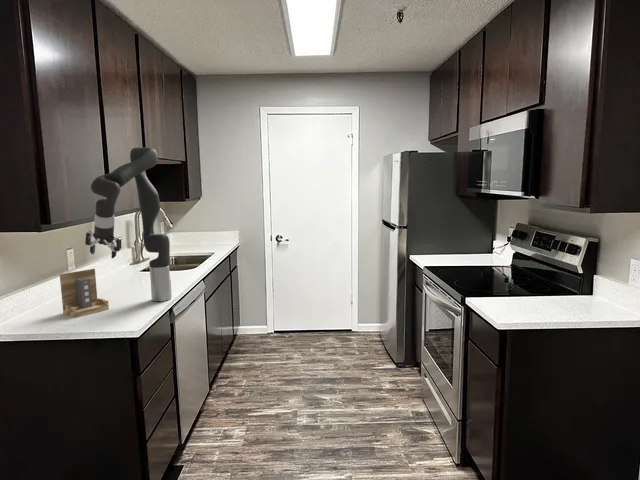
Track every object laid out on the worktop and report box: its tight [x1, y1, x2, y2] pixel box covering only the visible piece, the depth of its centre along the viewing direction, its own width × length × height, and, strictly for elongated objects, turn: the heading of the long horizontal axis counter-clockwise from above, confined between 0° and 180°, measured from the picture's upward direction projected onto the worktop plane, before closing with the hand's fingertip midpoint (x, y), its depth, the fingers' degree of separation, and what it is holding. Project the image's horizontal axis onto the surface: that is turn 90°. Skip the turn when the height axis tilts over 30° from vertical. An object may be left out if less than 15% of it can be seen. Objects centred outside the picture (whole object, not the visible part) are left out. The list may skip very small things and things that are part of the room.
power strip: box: [76, 278, 92, 309], centre depth 192 cm, size 5×4×13 cm
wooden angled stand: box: [59, 268, 110, 318], centre depth 191 cm, size 11×15×18 cm
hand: (103, 255), depth 185 cm, fingers open, 8 cm apart
